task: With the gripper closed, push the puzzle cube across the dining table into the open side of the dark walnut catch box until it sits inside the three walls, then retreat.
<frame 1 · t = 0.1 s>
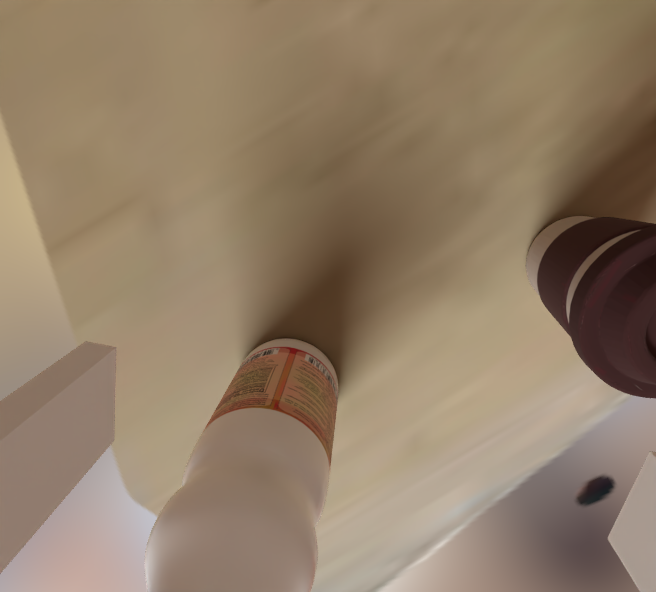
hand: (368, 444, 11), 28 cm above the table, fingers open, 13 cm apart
fruit juice: (289, 380, 43), on the table
coffee cup: (568, 259, 37), on the table
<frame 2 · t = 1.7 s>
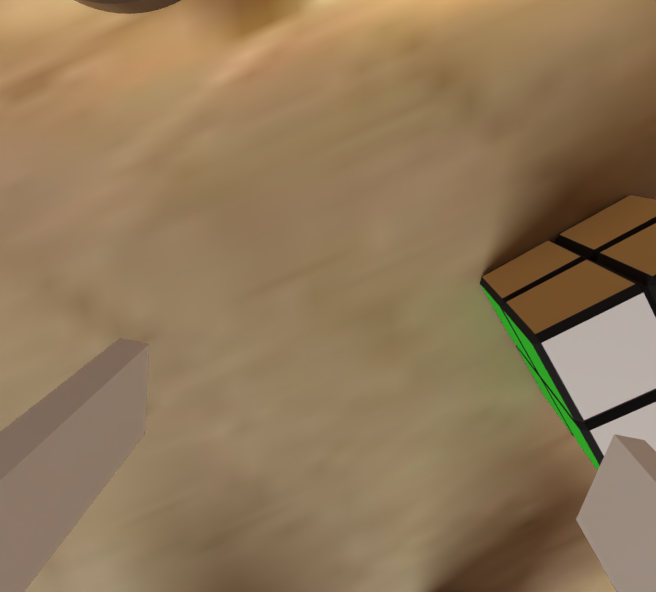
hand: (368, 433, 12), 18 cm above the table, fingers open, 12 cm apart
puzzle cube: (584, 301, 29), on the table
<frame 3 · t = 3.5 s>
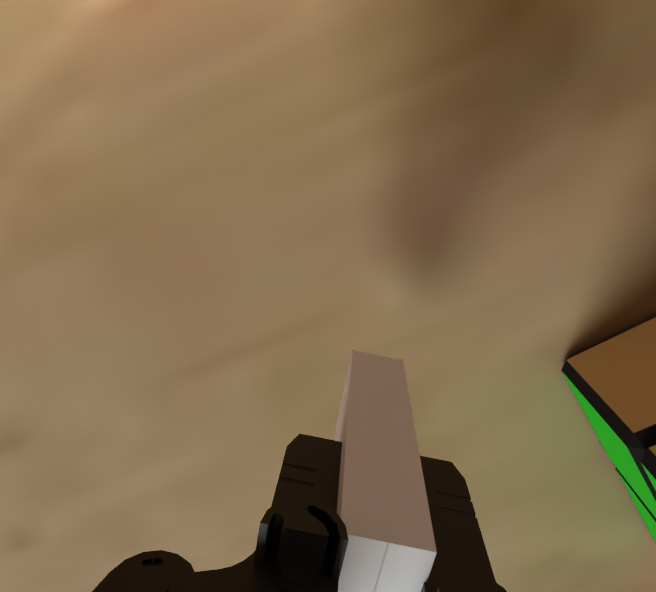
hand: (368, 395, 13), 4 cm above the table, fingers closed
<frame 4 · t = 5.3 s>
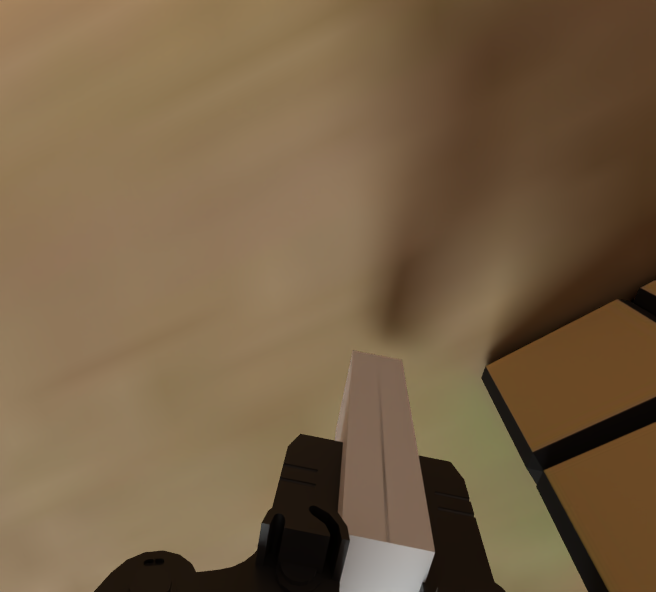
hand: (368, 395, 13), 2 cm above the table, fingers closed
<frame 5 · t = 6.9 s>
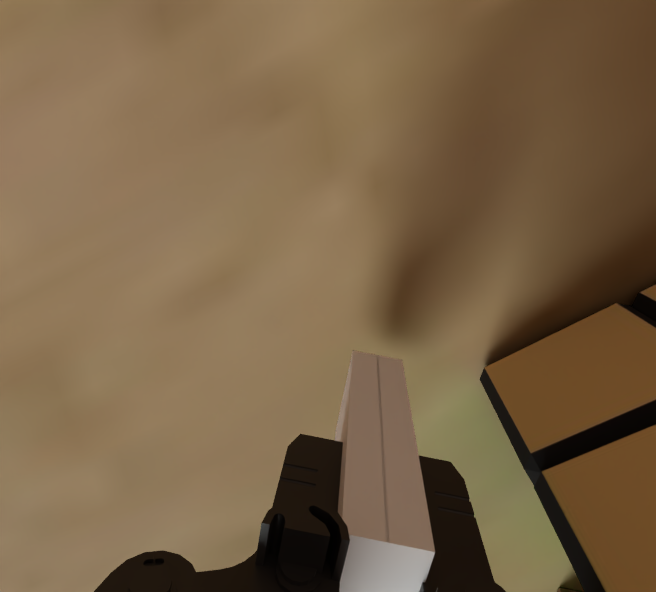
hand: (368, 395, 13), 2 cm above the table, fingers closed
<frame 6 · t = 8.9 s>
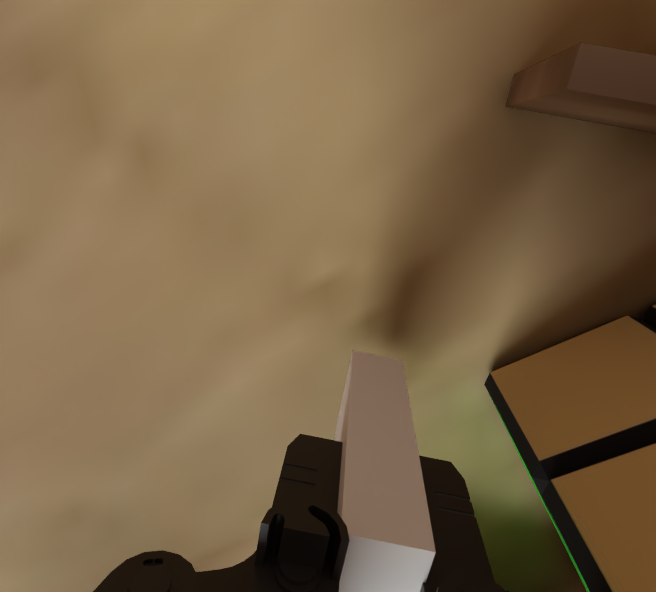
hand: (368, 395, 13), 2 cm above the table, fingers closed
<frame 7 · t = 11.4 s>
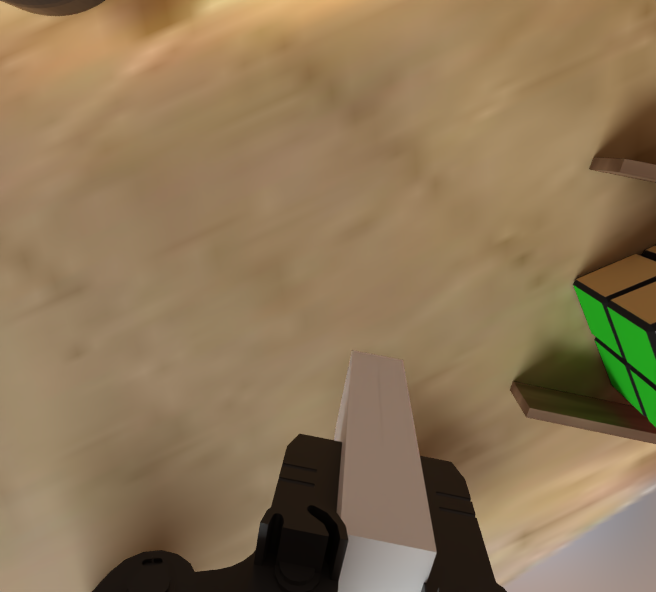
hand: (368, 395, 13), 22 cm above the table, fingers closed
puzzle cube: (655, 307, 35), on the table
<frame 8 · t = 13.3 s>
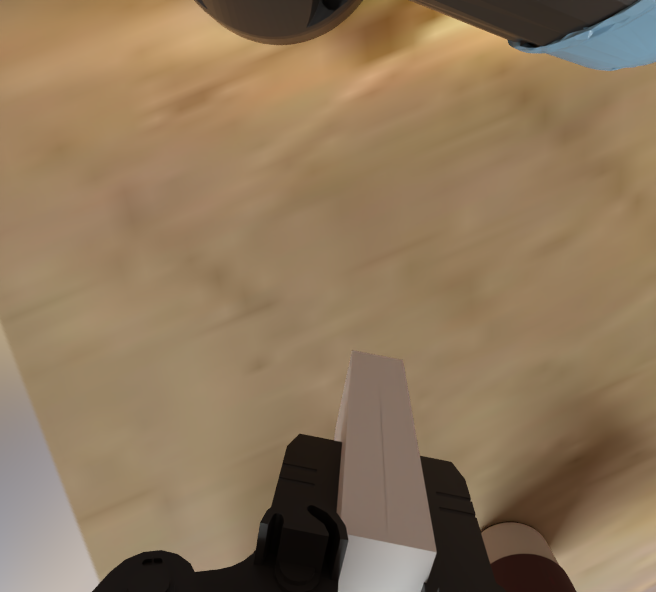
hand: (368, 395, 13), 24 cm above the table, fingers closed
coffee cup: (507, 546, 45), on the table
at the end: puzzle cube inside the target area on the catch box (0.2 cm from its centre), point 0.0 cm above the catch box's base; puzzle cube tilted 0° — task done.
